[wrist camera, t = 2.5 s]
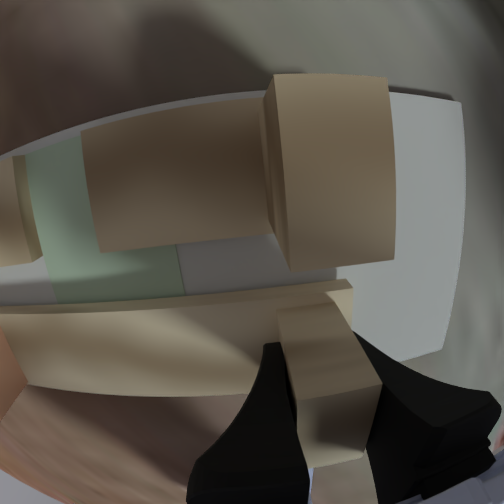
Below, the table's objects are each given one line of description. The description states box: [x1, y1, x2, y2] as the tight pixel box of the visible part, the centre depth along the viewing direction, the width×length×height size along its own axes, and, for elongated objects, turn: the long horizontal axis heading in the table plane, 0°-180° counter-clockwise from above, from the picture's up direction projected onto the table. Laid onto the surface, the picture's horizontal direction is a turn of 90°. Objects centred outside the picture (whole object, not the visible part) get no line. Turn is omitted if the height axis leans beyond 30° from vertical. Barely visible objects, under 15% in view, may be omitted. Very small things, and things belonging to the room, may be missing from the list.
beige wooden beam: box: [0, 278, 383, 469], centre depth 10 cm, size 5×24×6 cm, turn 96°
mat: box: [0, 90, 466, 362], centre depth 13 cm, size 14×32×1 cm, turn 96°
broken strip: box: [0, 74, 396, 273], centre depth 8 cm, size 5×24×6 cm, turn 95°
